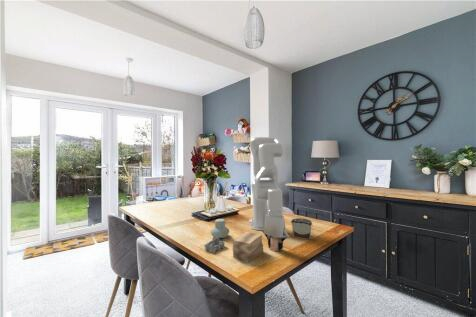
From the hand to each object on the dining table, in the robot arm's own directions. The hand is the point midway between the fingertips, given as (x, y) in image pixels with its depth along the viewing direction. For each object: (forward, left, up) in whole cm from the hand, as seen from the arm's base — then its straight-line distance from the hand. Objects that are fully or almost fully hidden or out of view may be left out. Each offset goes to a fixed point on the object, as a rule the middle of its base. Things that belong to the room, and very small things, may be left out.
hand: (275, 247), depth 115 cm
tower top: (-8, -13, +3) cm, 16 cm away
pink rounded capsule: (0, 0, -1) cm, 1 cm away
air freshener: (-35, -3, -1) cm, 35 cm away
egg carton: (-26, -17, -1) cm, 31 cm away
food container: (+5, +25, -1) cm, 26 cm away
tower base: (-8, -13, -1) cm, 15 cm away
